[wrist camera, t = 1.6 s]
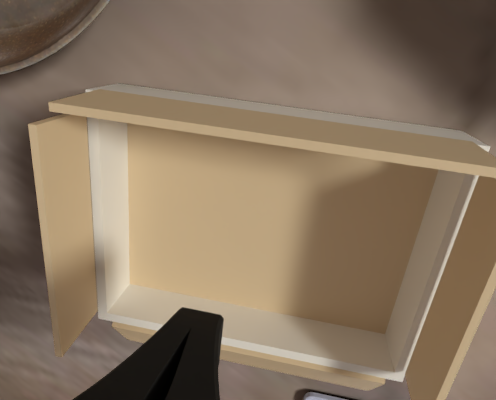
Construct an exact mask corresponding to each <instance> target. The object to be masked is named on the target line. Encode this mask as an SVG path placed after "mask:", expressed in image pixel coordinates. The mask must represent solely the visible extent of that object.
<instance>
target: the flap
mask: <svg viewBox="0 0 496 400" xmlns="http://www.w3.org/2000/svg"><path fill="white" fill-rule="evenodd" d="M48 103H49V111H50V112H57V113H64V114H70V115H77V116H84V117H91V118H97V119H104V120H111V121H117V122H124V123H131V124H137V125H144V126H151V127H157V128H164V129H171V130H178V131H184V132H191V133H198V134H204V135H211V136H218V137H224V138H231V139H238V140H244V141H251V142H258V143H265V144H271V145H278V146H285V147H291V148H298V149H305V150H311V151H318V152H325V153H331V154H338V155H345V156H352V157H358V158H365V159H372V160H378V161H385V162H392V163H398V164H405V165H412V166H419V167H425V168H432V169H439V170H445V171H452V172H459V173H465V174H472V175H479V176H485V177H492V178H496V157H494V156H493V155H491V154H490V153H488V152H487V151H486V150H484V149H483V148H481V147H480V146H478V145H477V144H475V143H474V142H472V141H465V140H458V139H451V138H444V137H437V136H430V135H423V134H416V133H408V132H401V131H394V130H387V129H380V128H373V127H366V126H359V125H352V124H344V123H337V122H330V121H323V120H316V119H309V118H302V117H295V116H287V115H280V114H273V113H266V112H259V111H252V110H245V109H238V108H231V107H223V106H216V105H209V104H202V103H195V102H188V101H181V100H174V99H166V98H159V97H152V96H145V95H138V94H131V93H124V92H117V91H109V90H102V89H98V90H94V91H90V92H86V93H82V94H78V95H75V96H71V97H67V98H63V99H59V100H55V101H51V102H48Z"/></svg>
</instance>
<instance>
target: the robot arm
mask: <svg viewBox="0 0 496 400" xmlns="http://www.w3.org/2000/svg"><path fill="white" fill-rule="evenodd" d="M223 322H224V318H223V317H222V316H221V315H220V314H215V313H210V312H205V311H200V310H195V309H190V308H185V307H182V308H180V309H179V310H178V311H177V312H176V313H175V314H174V315H173V316H172V317H171V318H170V319H169V320H168V321H167V322H166V323H165V324H164V325H163V326H162V327H161V328H160V329H159V330H158V331H157V332H156V333H155V334H154V335H153V336H152V337H151V338H150V339H148V340H147V341H146V342H145V343H144V344H143V345H142V346H141V347H140V348H139V349H137V350H136V351H135V352H134V353H133V354H132V355H131V356H129V357H128V358H127V359H126V360H125V361H123V362H122V363H121V364H120V365H118V366H117V367H116V368H115V369H114V370H112V371H111V372H110V373H109V374H107V375H106V376H105V377H103V378H102V379H101V380H99V381H98V382H97V383H95V384H94V385H93V386H91V387H90V388H88V389H87V390H86V391H84V392H83V393H81V394H80V395H78V396H77V397H76V398H74V399H73V400H220V396H219V383H218V365H219V359H220V350H221V341H222V331H223ZM303 400H347V399H343V398H338V397H333V396H329V395H324V394H320V393H315V392H308V393H306V394H305V395H304V399H303Z"/></svg>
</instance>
